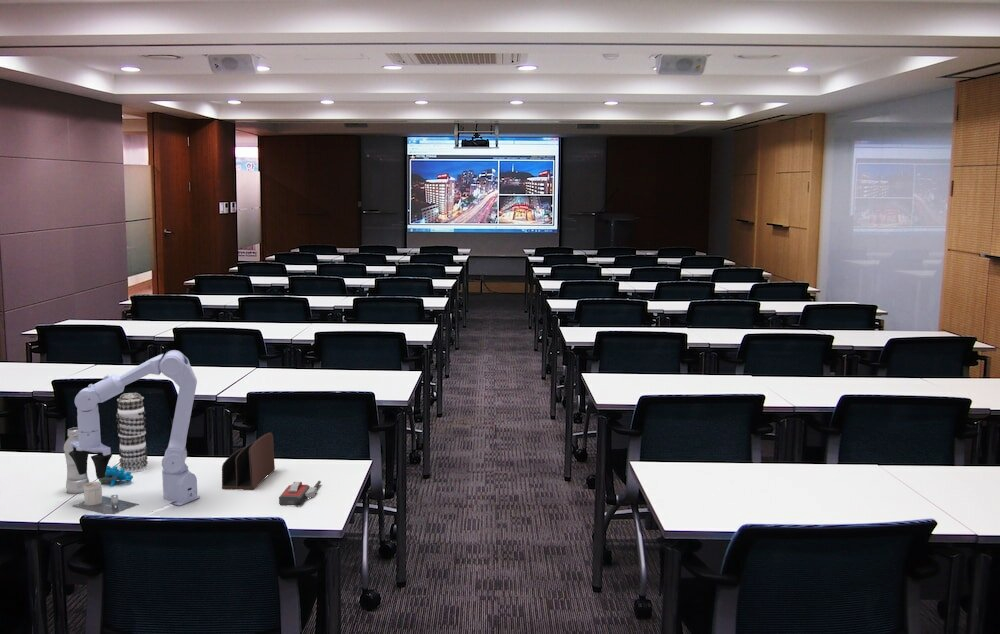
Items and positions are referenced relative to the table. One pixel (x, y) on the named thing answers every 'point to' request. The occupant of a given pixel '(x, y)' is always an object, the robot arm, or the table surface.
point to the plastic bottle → (73, 467)
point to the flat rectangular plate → (107, 505)
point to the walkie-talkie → (297, 493)
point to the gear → (115, 475)
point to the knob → (93, 493)
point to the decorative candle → (132, 432)
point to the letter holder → (249, 464)
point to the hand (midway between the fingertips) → (91, 475)
